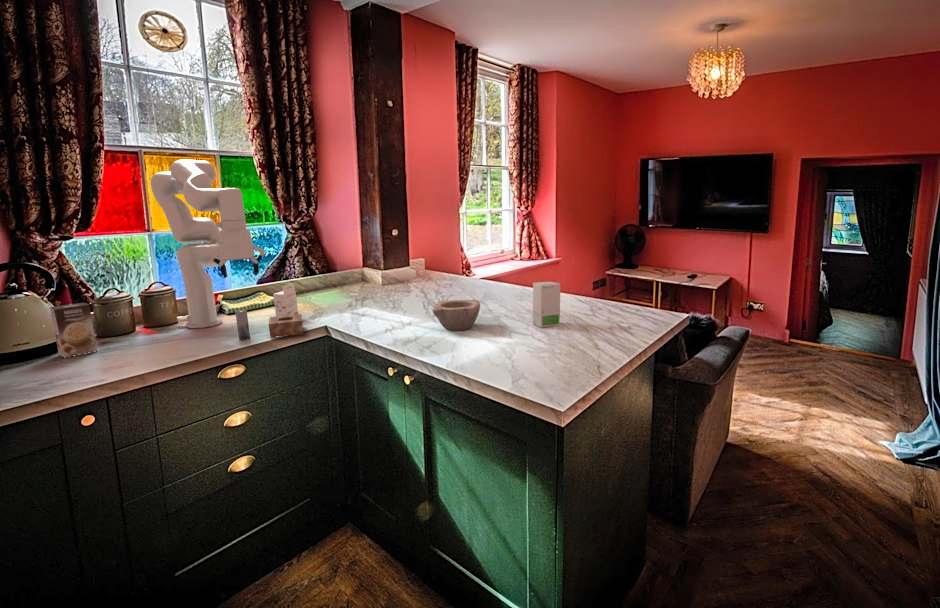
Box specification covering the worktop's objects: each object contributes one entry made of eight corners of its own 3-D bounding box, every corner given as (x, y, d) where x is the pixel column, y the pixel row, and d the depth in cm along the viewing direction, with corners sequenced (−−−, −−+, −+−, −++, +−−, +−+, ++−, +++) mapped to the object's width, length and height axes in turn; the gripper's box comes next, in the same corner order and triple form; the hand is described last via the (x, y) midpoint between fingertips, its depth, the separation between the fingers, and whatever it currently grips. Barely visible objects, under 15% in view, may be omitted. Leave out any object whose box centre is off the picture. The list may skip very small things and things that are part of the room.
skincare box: (540, 328, 177) (540, 285, 173) (531, 324, 183) (531, 282, 179) (560, 325, 180) (561, 283, 176) (551, 321, 186) (551, 280, 182)
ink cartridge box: (287, 317, 203) (284, 282, 199) (298, 318, 202) (295, 282, 198) (275, 323, 194) (271, 286, 191) (287, 323, 193) (283, 286, 190)
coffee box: (63, 359, 156) (53, 309, 152) (58, 355, 160) (48, 307, 156) (98, 351, 163) (89, 304, 159) (93, 348, 167) (83, 301, 163)
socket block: (270, 337, 174) (268, 324, 173) (271, 330, 184) (270, 317, 183) (303, 334, 177) (301, 320, 176) (302, 326, 187) (301, 314, 186)
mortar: (439, 321, 190) (438, 298, 188) (482, 321, 188) (482, 298, 186) (430, 334, 174) (429, 308, 172) (478, 334, 171) (477, 308, 169)
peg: (238, 340, 171) (234, 312, 169) (239, 338, 174) (235, 310, 172) (249, 339, 172) (246, 311, 170) (250, 336, 175) (247, 309, 173)
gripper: (203, 227, 160) (211, 279, 163) (260, 224, 165) (267, 275, 168) (207, 226, 167) (215, 276, 170) (262, 224, 172) (268, 272, 175)
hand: (240, 276), depth 169 cm, fingers open, 9 cm apart
